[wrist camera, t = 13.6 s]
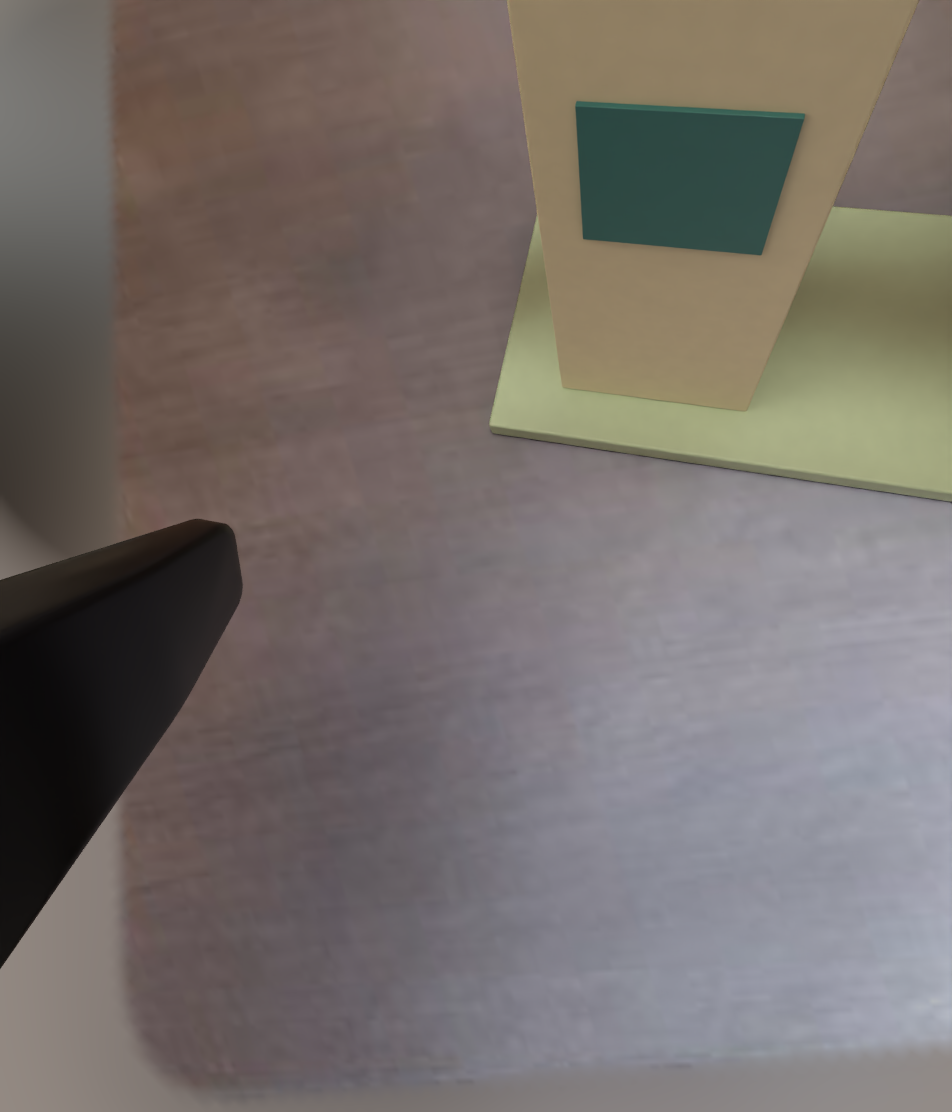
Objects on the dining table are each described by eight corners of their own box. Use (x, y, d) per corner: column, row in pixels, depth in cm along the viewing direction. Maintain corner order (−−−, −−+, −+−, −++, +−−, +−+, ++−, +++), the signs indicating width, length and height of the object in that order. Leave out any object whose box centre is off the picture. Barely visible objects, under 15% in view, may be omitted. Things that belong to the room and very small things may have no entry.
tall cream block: (745, 415, 19) (953, -74, 7) (560, 391, 20) (491, -77, 8) (773, 245, 20) (998, -429, 8) (594, 229, 21) (573, -395, 9)
